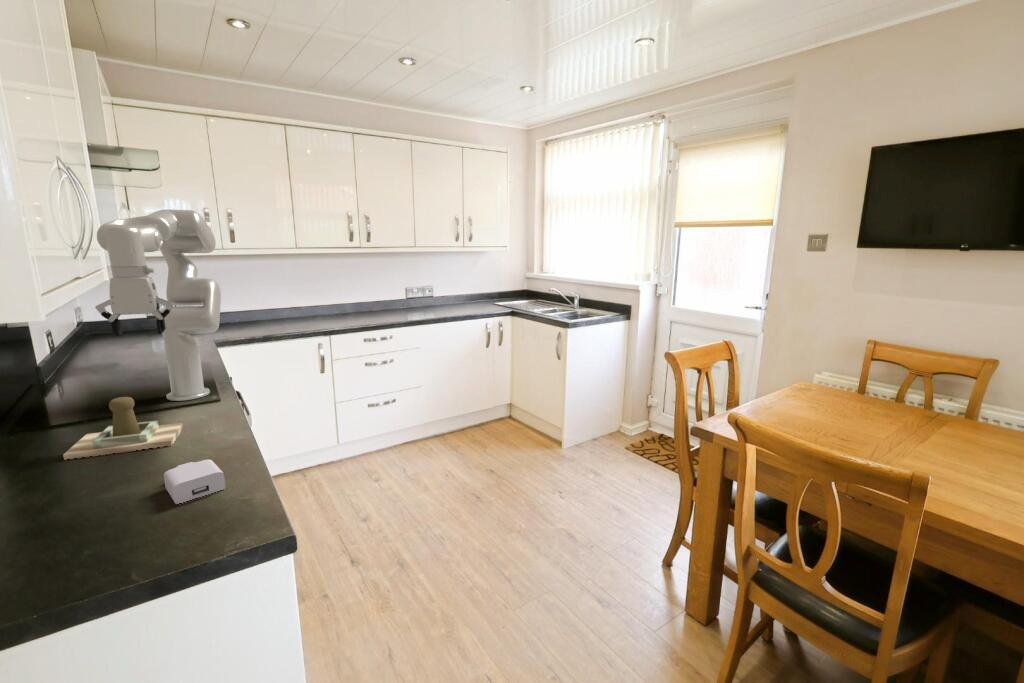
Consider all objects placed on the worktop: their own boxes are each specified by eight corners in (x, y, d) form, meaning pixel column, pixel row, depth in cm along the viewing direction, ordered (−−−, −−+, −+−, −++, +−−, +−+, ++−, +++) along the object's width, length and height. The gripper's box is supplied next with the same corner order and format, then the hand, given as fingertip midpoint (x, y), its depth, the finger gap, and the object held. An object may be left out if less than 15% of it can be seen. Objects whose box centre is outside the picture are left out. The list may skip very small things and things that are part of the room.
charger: (206, 468, 112) (226, 490, 102) (159, 481, 105) (175, 506, 95) (204, 449, 111) (223, 470, 101) (156, 462, 105) (172, 485, 94)
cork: (138, 431, 129) (132, 393, 127) (144, 436, 125) (138, 397, 123) (110, 437, 125) (103, 398, 122) (115, 443, 121) (108, 403, 119)
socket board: (87, 439, 127) (85, 426, 126) (183, 427, 136) (182, 416, 135) (64, 460, 115) (61, 446, 114) (171, 445, 123) (169, 433, 123)
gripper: (171, 271, 133) (180, 329, 137) (95, 271, 126) (106, 333, 131) (164, 273, 126) (174, 334, 131) (83, 274, 120) (96, 339, 124)
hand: (140, 333), depth 131 cm, fingers open, 9 cm apart
